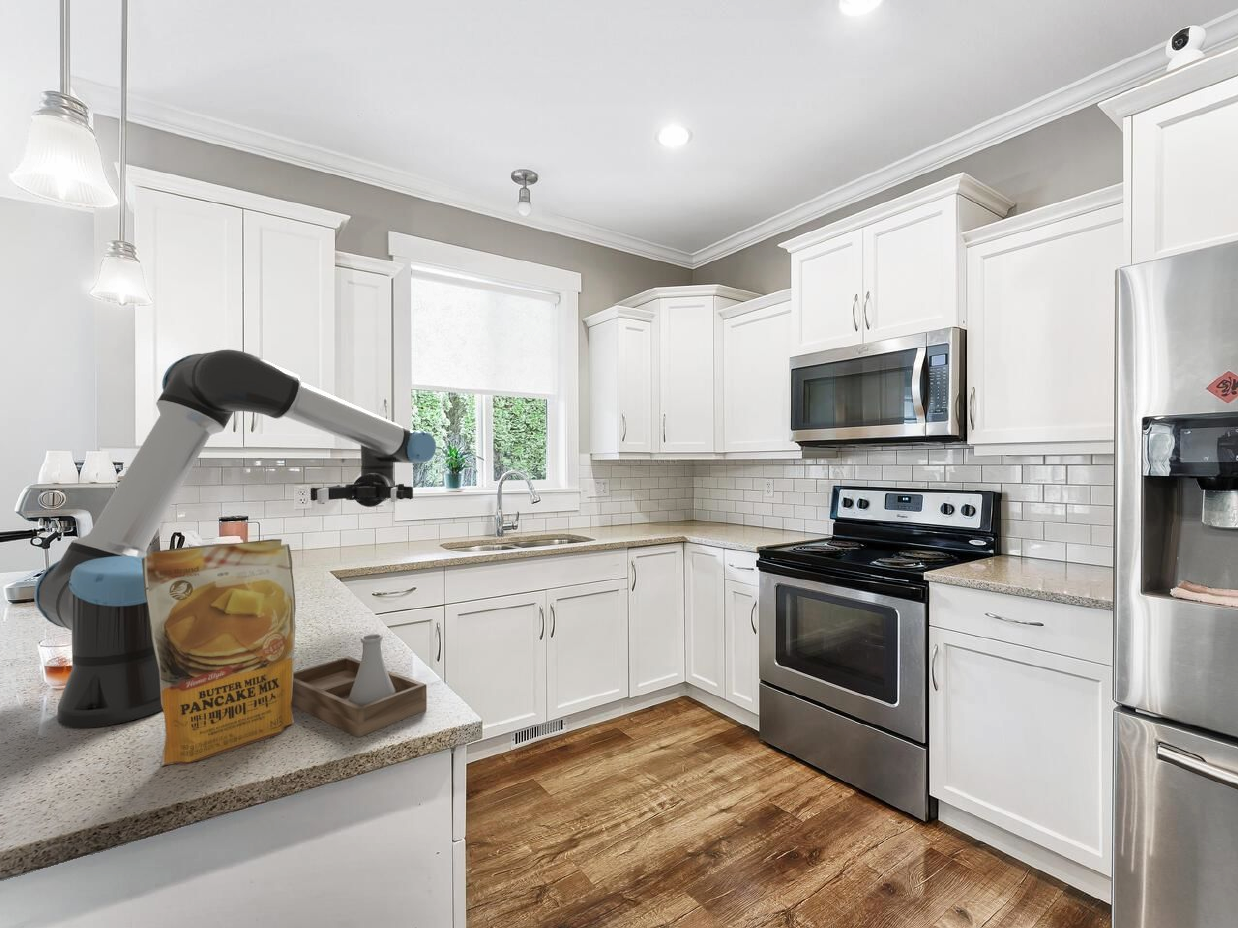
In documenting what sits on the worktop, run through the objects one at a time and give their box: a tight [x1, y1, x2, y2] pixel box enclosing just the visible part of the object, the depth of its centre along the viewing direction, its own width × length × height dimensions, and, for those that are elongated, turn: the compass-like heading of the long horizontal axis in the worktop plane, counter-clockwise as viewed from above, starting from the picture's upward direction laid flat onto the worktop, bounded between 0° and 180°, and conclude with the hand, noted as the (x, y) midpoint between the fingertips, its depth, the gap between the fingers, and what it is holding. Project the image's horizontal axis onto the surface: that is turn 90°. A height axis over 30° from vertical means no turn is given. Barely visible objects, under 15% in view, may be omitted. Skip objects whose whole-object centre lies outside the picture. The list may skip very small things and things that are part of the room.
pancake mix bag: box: [142, 538, 297, 767], centre depth 85 cm, size 7×19×28 cm, turn 140°
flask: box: [348, 633, 396, 707], centre depth 94 cm, size 7×7×10 cm
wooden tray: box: [291, 656, 428, 738], centre depth 98 cm, size 22×12×4 cm, turn 55°
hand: (356, 496), depth 121 cm, fingers open, 13 cm apart
